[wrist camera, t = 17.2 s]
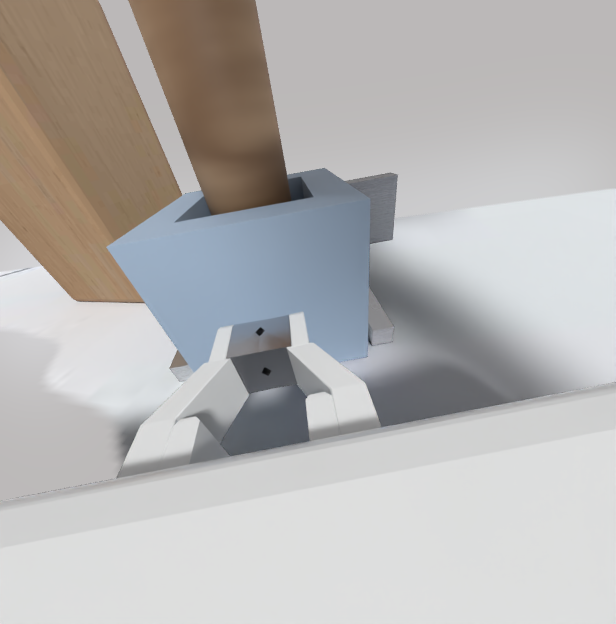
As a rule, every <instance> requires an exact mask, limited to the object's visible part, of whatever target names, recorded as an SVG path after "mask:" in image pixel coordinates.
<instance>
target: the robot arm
mask: <svg viewBox="0 0 616 624" xmlns="http://www.w3.org/2000/svg"><path fill="white" fill-rule="evenodd" d="M296 384H297V385H298V386H299V388H300V389H301V390H302V391H303V392H304V394H305V395H306V396H307V398H306V400H305V401H306V411H307V420H308V430H309V440H310V441H308V442H302V443H297V444H292V445H287V446H282V447H276V448H271V449H266V450H261V451H256V452H251V453H245V454H240V455H235V456H230V455H229V454H228V453H227V452H226V451H225V449H224V448H223V447H222V446H221V445H220V443H221V441H222V439H223V438H224V436H225V434H226V433H227V431H228V429H229V428H230V426H231V424H232V423H233V421H234V419H235V418H236V416H237V414H238V413H239V411H240V409H241V408H242V406H243V405H244V403H245V401H246V400H247V398H248V396H249V393H254V392H258V391H263V390H268V389H272V388H278V387H284V386H290V385H296ZM0 624H616V382H614V383H608V384H603V385H598V386H593V387H588V388H583V389H577V390H572V391H567V392H562V393H557V394H551V395H546V396H541V397H536V398H531V399H526V400H520V401H515V402H510V403H505V404H500V405H494V406H489V407H484V408H479V409H474V410H469V411H463V412H458V413H453V414H448V415H443V416H437V417H432V418H427V419H422V420H417V421H412V422H406V423H401V424H396V425H391V426H386V427H382V426H381V424H380V421H379V418H378V416H377V413H376V410H375V407H374V405H373V402H372V399H371V397H370V394H369V391H368V389H367V386H366V383H365V382H364V381H362V380H361V379H360V378H358V377H357V376H356V375H355V374H353V373H352V372H351V371H349V370H348V369H347V368H346V367H344V366H343V365H342V364H340V363H339V362H338V361H337V360H335V359H334V358H333V357H331V356H330V355H329V354H327V353H326V352H325V351H324V350H322V349H321V348H320V347H318V346H317V345H316V344H315V343H310V341H309V336H308V331H307V326H306V321H305V316H304V312H303V311H302V312H298V313H293V314H289V315H286V316H281V317H276V318H270V319H265V320H259V321H253V322H247V323H241V324H235V325H230V326H224V327H220V328H219V329H218V330H217V334H216V337H215V341H214V344H213V348H212V351H211V355H210V358H209V362H208V363H204V364H203V365H202V366H201V367H200V368H199V369H198V370H197V371H196V372H194V373H193V374H192V375H191V376H190V377H189V378H188V379H187V380H186V381H185V382H184V383H183V384H182V385H181V386H180V387H179V388H178V389H177V390H176V391H175V392H174V393H173V394H172V395H171V396H170V397H169V398H168V399H167V400H166V401H165V402H164V403H163V404H162V405H161V406H160V407H159V408H158V409H157V410H156V411H155V412H154V413H153V414H152V415H151V416H150V417H149V418H148V419H147V420H146V421H145V422H144V423H143V424H141V425H140V428H139V430H138V432H137V434H136V436H135V439H134V441H133V443H132V445H131V447H130V449H129V452H128V454H127V456H126V458H125V460H124V463H123V465H122V467H121V469H120V471H119V474H118V476H117V478H116V479H111V480H106V481H101V482H95V483H90V484H85V485H80V486H75V487H69V488H64V489H60V490H54V491H49V492H44V493H38V494H34V495H28V496H23V497H18V498H12V499H7V500H2V501H0Z"/></svg>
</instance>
